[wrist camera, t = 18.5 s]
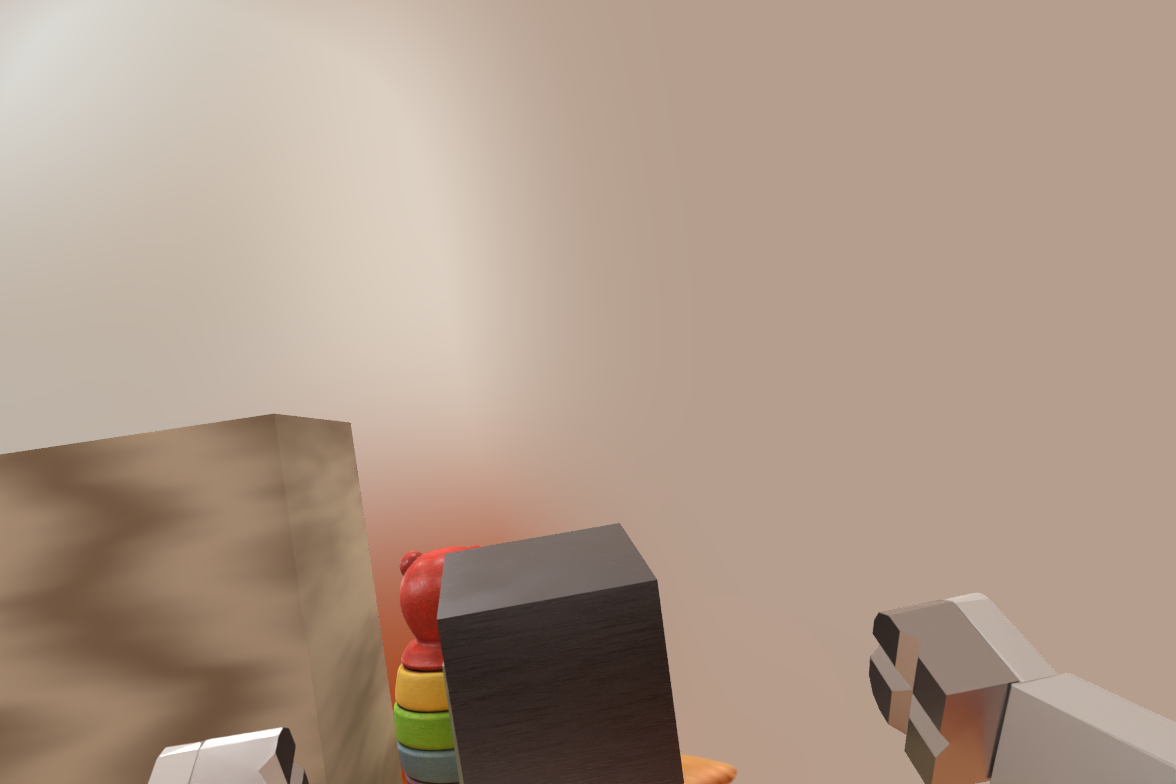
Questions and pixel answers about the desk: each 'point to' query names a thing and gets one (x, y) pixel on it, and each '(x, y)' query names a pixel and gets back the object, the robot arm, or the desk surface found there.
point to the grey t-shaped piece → (558, 662)
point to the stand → (189, 603)
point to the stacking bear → (424, 676)
